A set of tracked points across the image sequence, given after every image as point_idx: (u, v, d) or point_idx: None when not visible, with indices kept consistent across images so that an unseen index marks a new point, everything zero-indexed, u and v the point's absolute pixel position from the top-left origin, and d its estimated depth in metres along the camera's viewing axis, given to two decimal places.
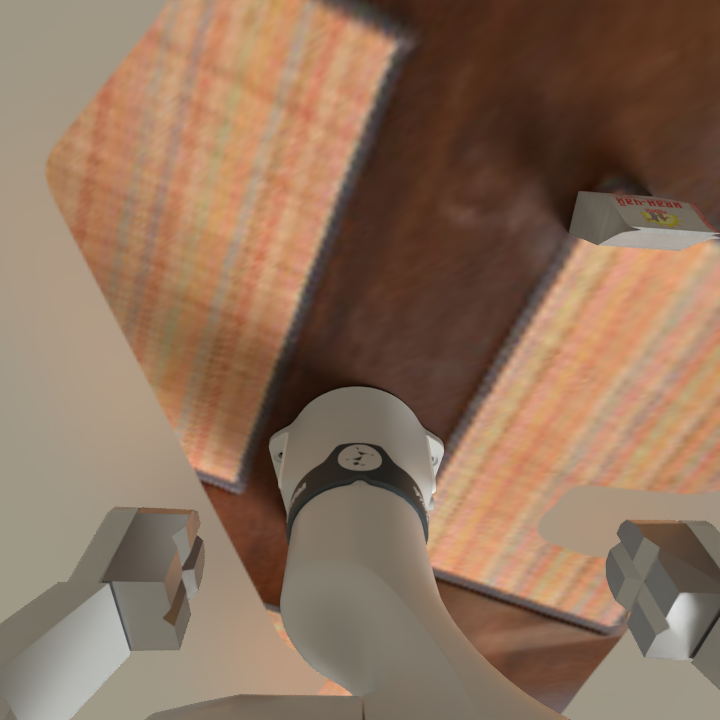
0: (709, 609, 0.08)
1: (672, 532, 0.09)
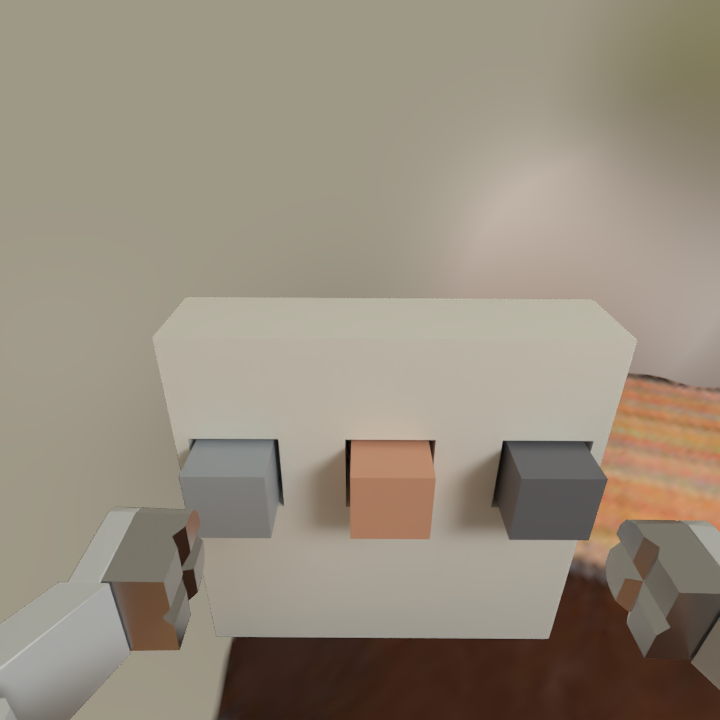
0: (709, 609, 0.08)
1: (672, 532, 0.09)
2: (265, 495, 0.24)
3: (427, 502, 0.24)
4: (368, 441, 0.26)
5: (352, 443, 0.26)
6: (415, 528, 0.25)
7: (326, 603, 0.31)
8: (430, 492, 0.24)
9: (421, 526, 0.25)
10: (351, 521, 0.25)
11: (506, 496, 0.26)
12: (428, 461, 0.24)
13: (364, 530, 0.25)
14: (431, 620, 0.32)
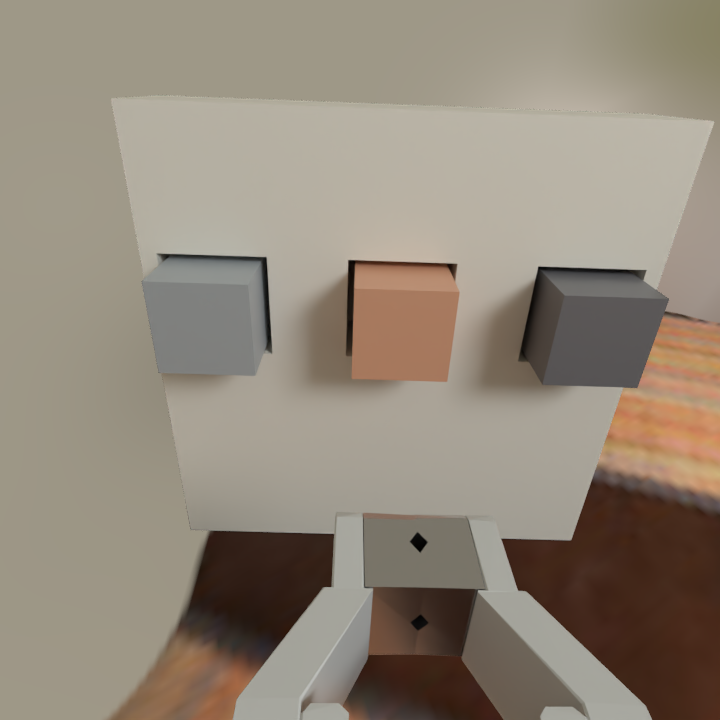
0: (460, 604, 0.08)
1: (448, 527, 0.09)
2: (249, 312, 0.19)
3: (447, 327, 0.20)
4: (376, 265, 0.21)
5: (356, 266, 0.21)
6: (430, 365, 0.21)
7: (319, 488, 0.27)
8: (451, 312, 0.19)
9: (438, 363, 0.20)
10: (353, 353, 0.20)
11: (540, 336, 0.21)
12: (449, 280, 0.20)
13: (368, 367, 0.21)
14: (439, 513, 0.28)
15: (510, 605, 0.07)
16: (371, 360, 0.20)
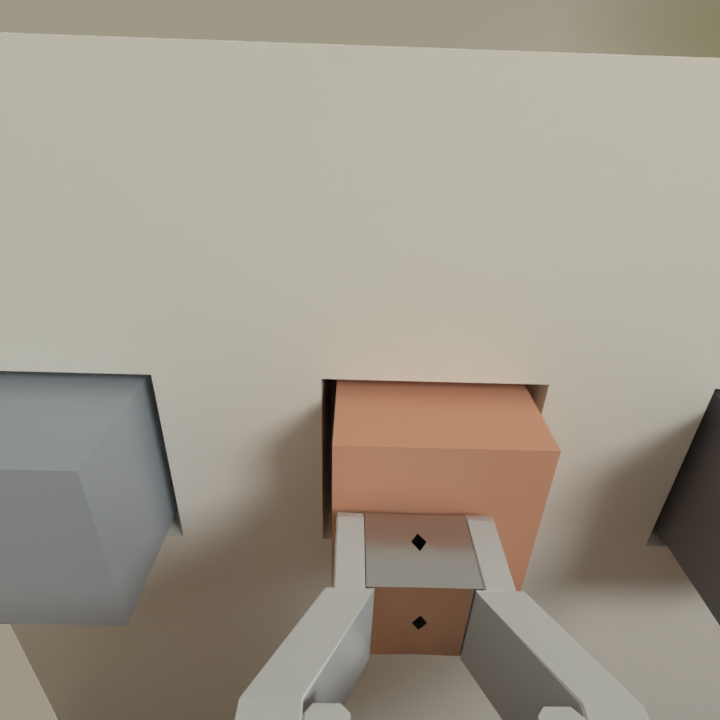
0: (459, 604, 0.08)
1: (447, 527, 0.09)
2: (91, 521, 0.09)
3: (528, 513, 0.09)
4: None
5: None
6: None
7: None
8: (540, 488, 0.09)
9: None
10: (334, 555, 0.10)
11: (715, 527, 0.10)
12: (529, 411, 0.10)
13: None
14: None
15: (508, 605, 0.07)
16: None
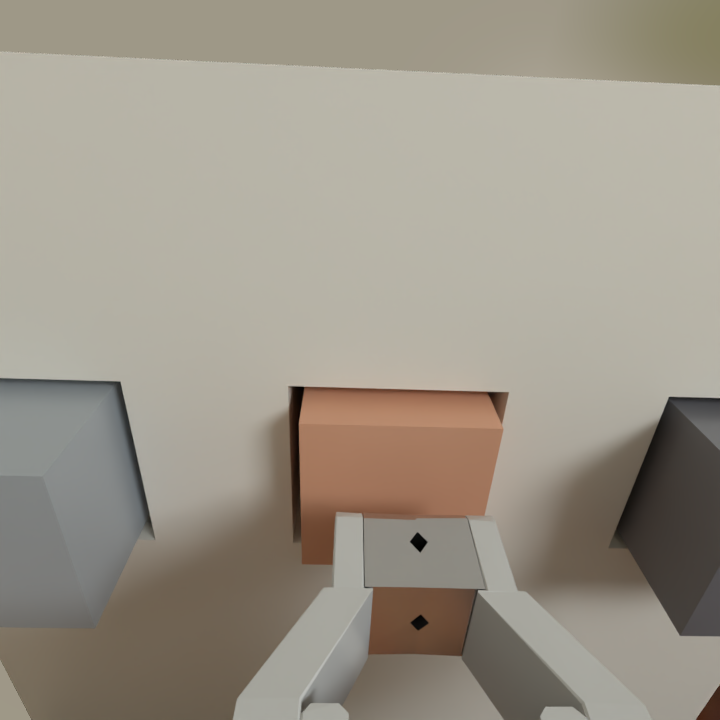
0: (460, 604, 0.08)
1: (448, 527, 0.09)
2: (57, 526, 0.09)
3: (477, 486, 0.11)
4: None
5: None
6: None
7: None
8: (487, 463, 0.10)
9: None
10: (303, 527, 0.11)
11: (670, 530, 0.11)
12: (479, 395, 0.11)
13: (333, 547, 0.11)
14: None
15: (510, 605, 0.07)
16: None
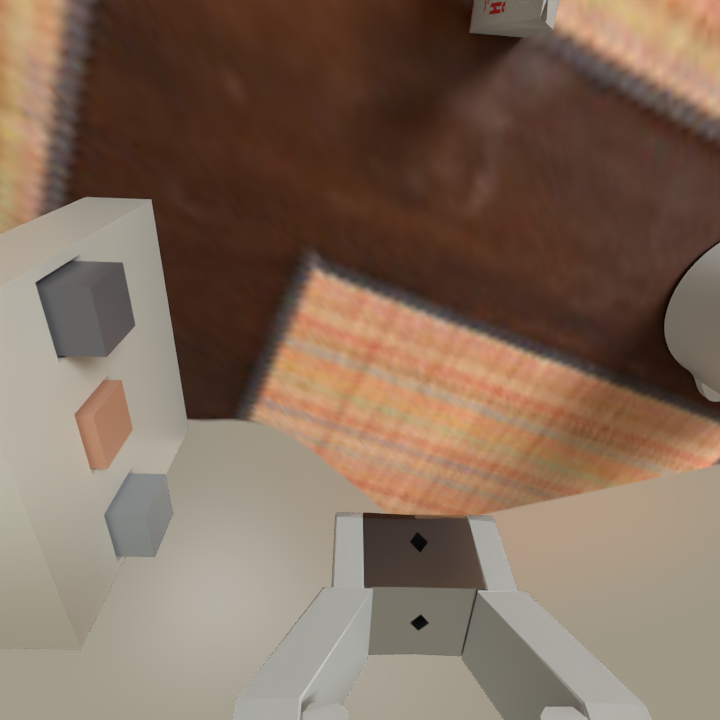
0: (460, 604, 0.08)
1: (448, 527, 0.09)
2: (151, 503, 0.34)
3: (105, 405, 0.31)
4: None
5: None
6: (119, 396, 0.32)
7: (165, 383, 0.43)
8: (100, 410, 0.30)
9: (117, 393, 0.32)
10: (125, 439, 0.34)
11: None
12: None
13: (127, 426, 0.34)
14: (159, 303, 0.41)
15: (510, 605, 0.07)
16: (125, 428, 0.33)
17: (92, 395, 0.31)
